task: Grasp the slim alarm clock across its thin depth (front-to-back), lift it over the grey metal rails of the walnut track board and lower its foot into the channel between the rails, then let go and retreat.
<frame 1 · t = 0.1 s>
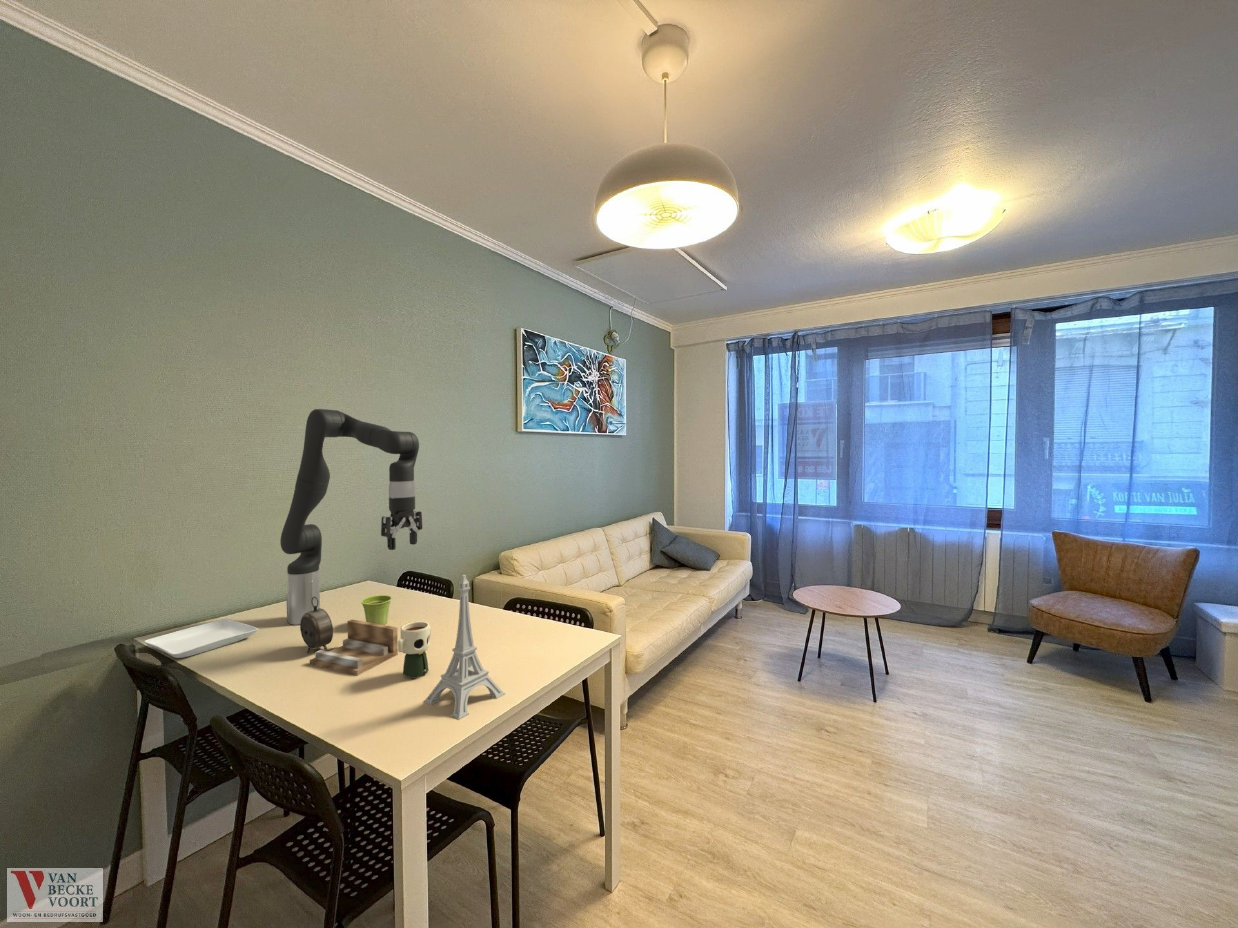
hand: (402, 546, 149), 29 cm above the table, fingers open, 8 cm apart
track board: (352, 660, 134), on the table
plant pot: (377, 625, 162), on the table
character mug: (415, 674, 126), on the table
alarm clock: (315, 651, 141), on the table
eiffel tower: (465, 699, 115), on the table
salad plate: (203, 645, 146), on the table
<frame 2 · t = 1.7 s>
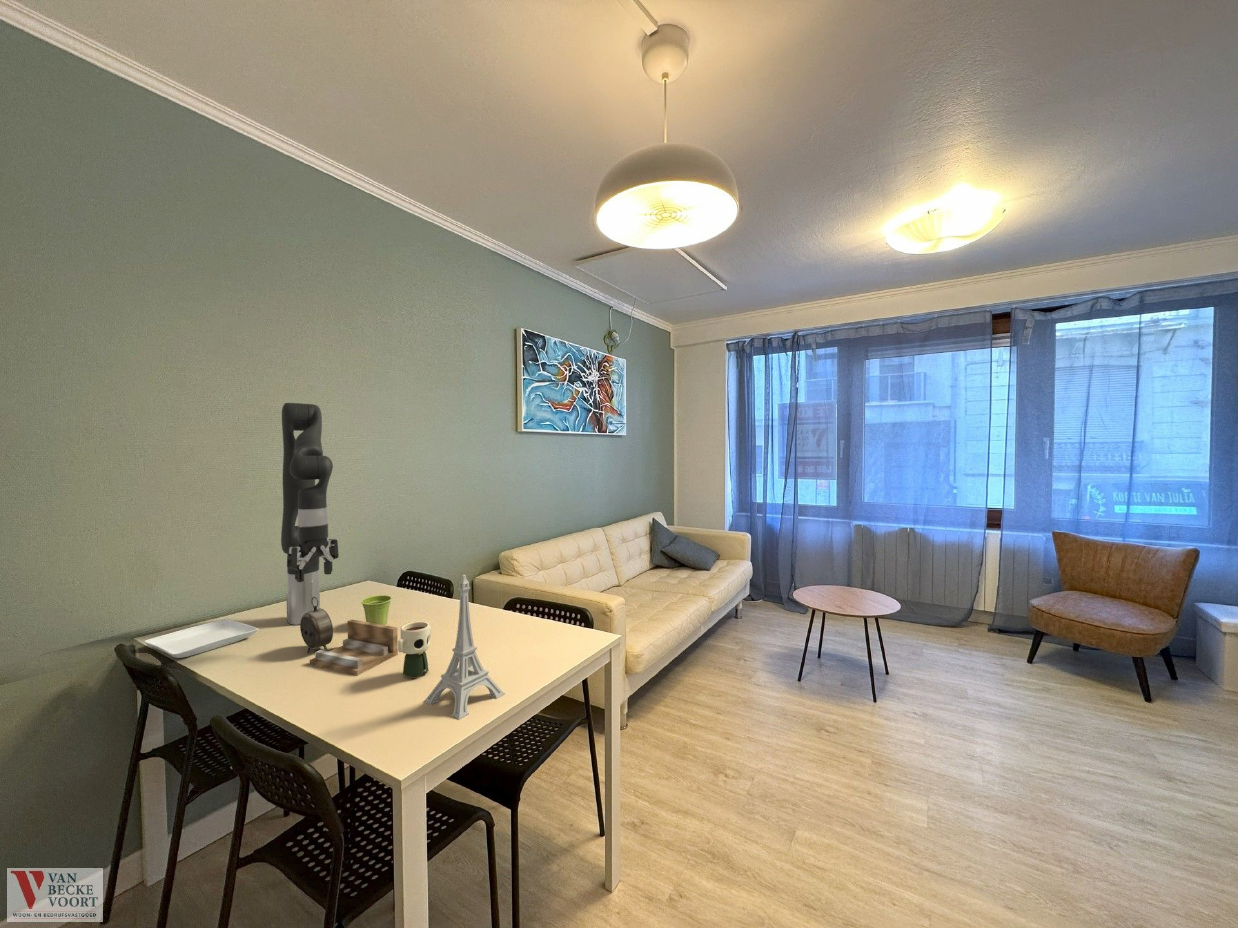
hand: (314, 577, 140), 22 cm above the table, fingers open, 8 cm apart
nothing on the table moved.
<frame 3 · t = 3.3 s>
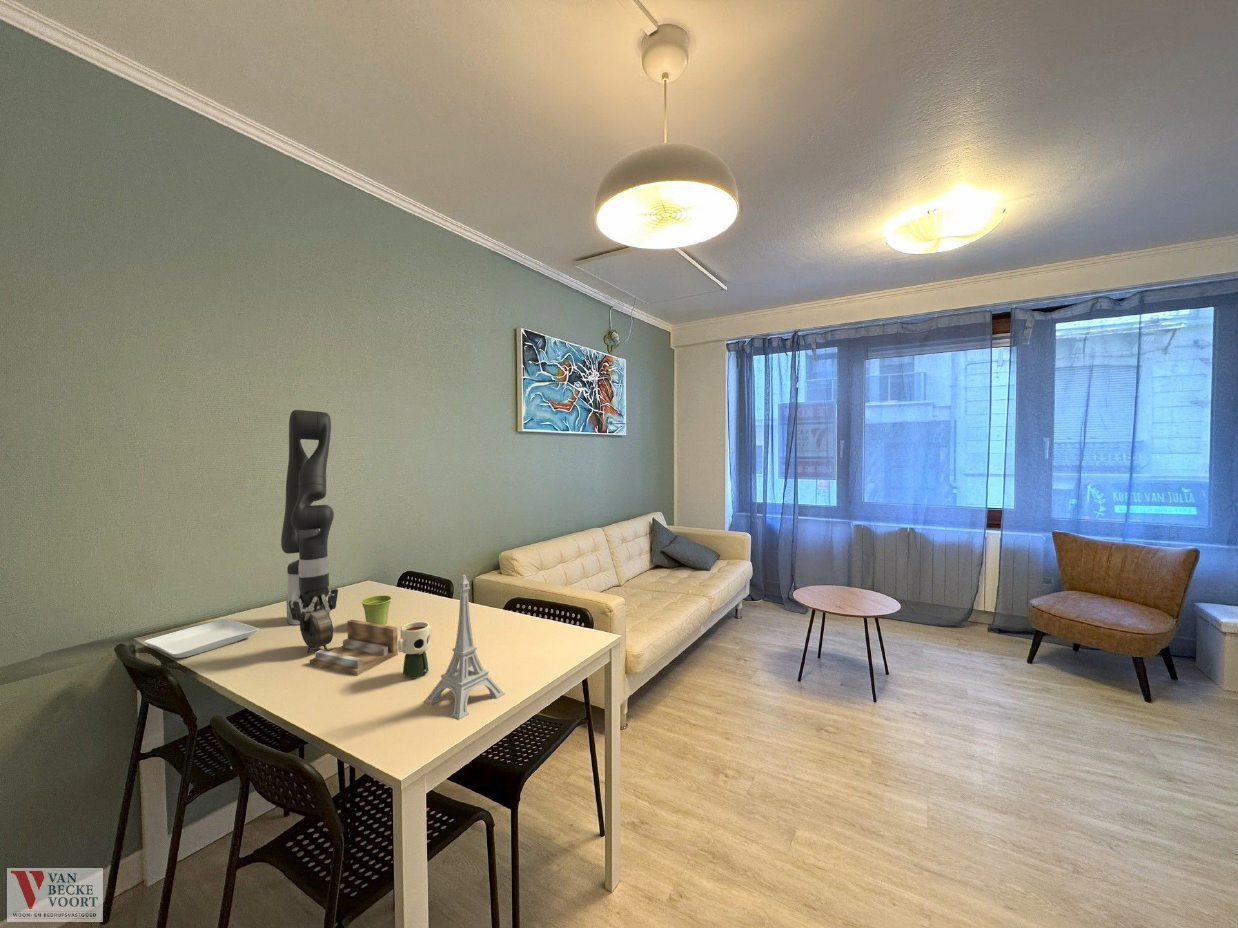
hand: (315, 628, 141), 7 cm above the table, fingers closed on alarm clock, 5 cm apart
alarm clock: (315, 650, 141), on the table, touching gripper
everything else where it was.
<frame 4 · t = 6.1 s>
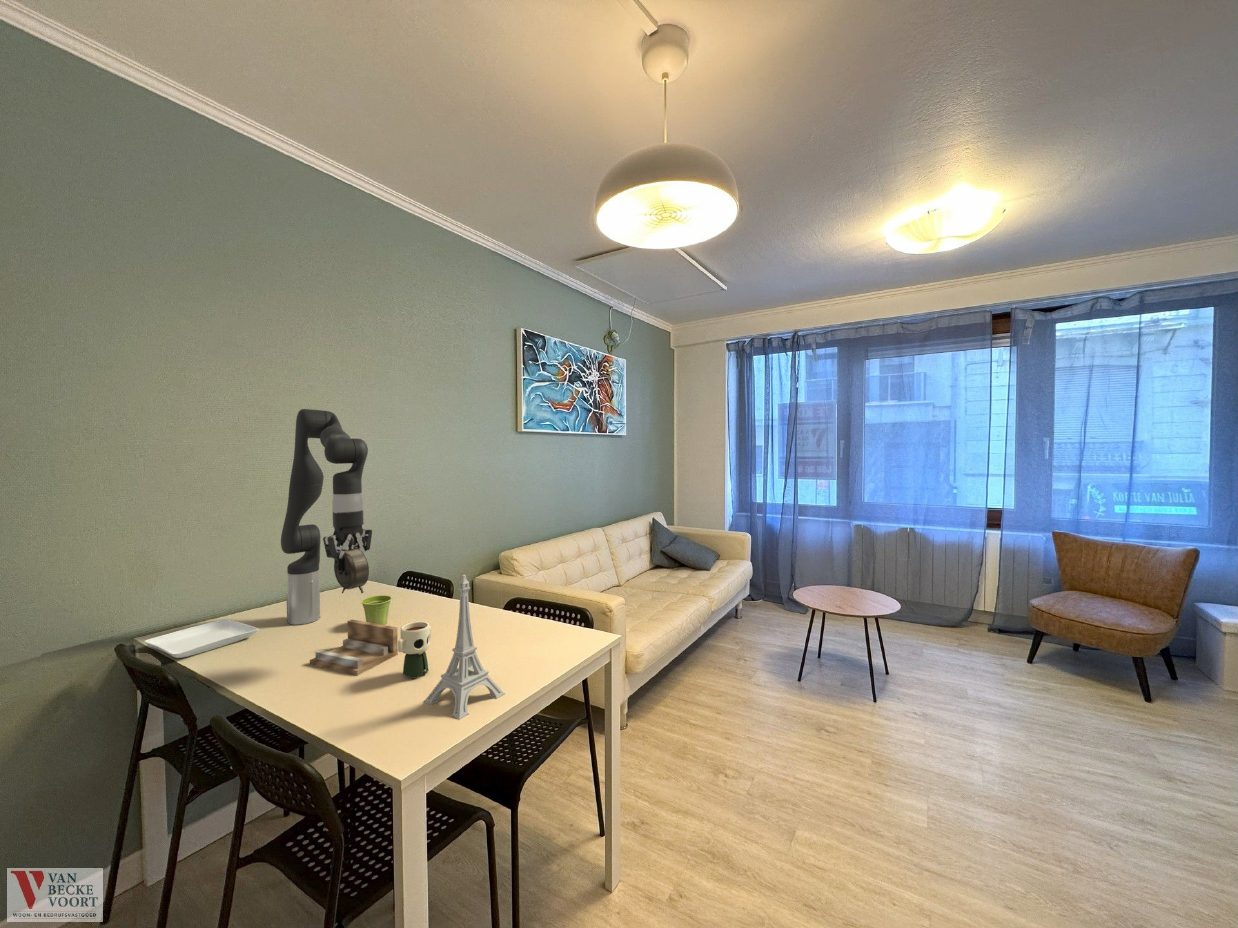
hand: (349, 569, 134), 26 cm above the table, fingers closed on alarm clock, 5 cm apart
alarm clock: (350, 592, 134), point 19 cm above the table, touching gripper
everything else where it was.
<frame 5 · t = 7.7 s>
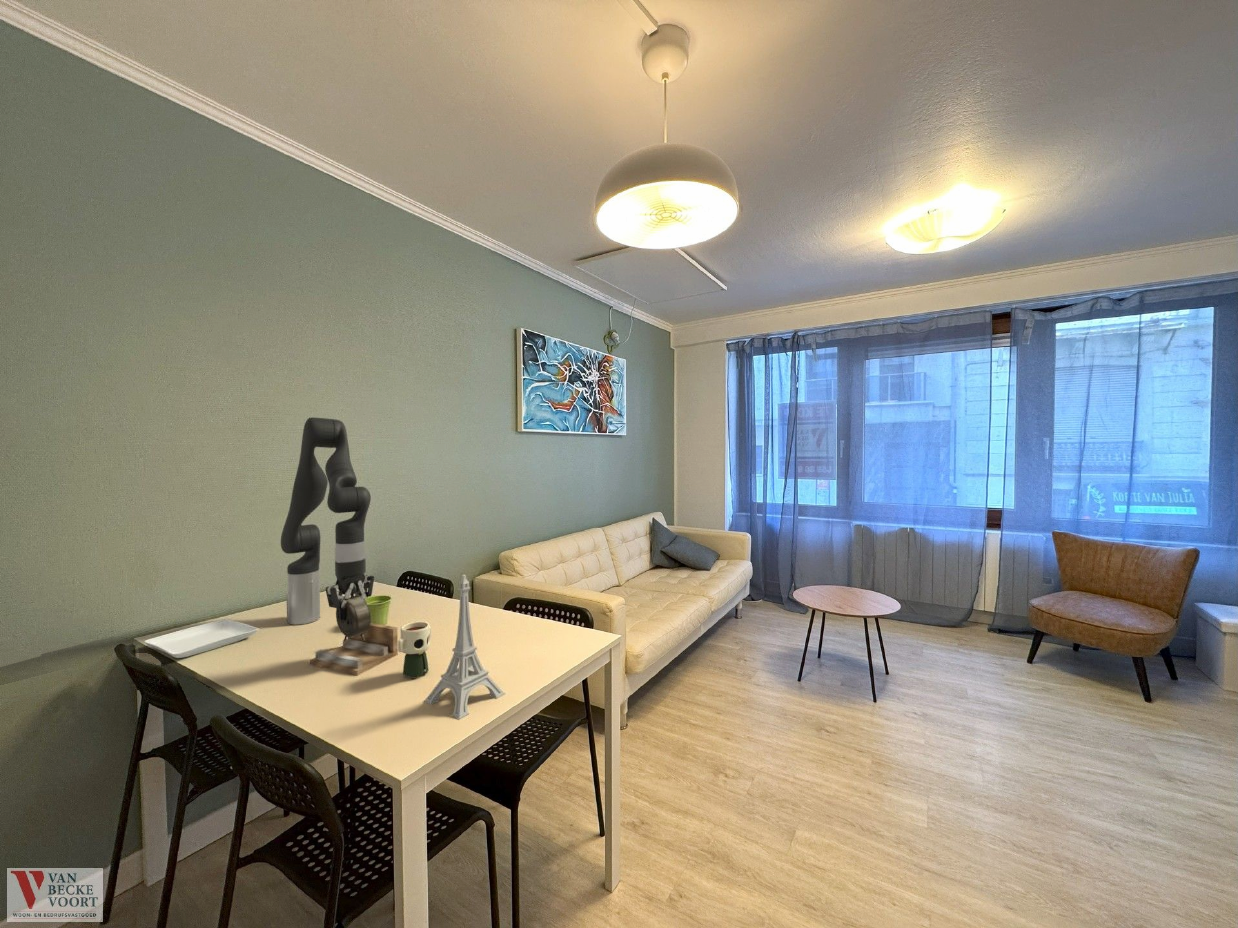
hand: (351, 616, 134), 12 cm above the table, fingers closed on alarm clock, 5 cm apart
alarm clock: (352, 640, 134), point 6 cm above the table, touching gripper
everything else where it was.
when the fingers open (8 cm above the table, at t = 9.0 s): alarm clock stays where it is, resting on track board.
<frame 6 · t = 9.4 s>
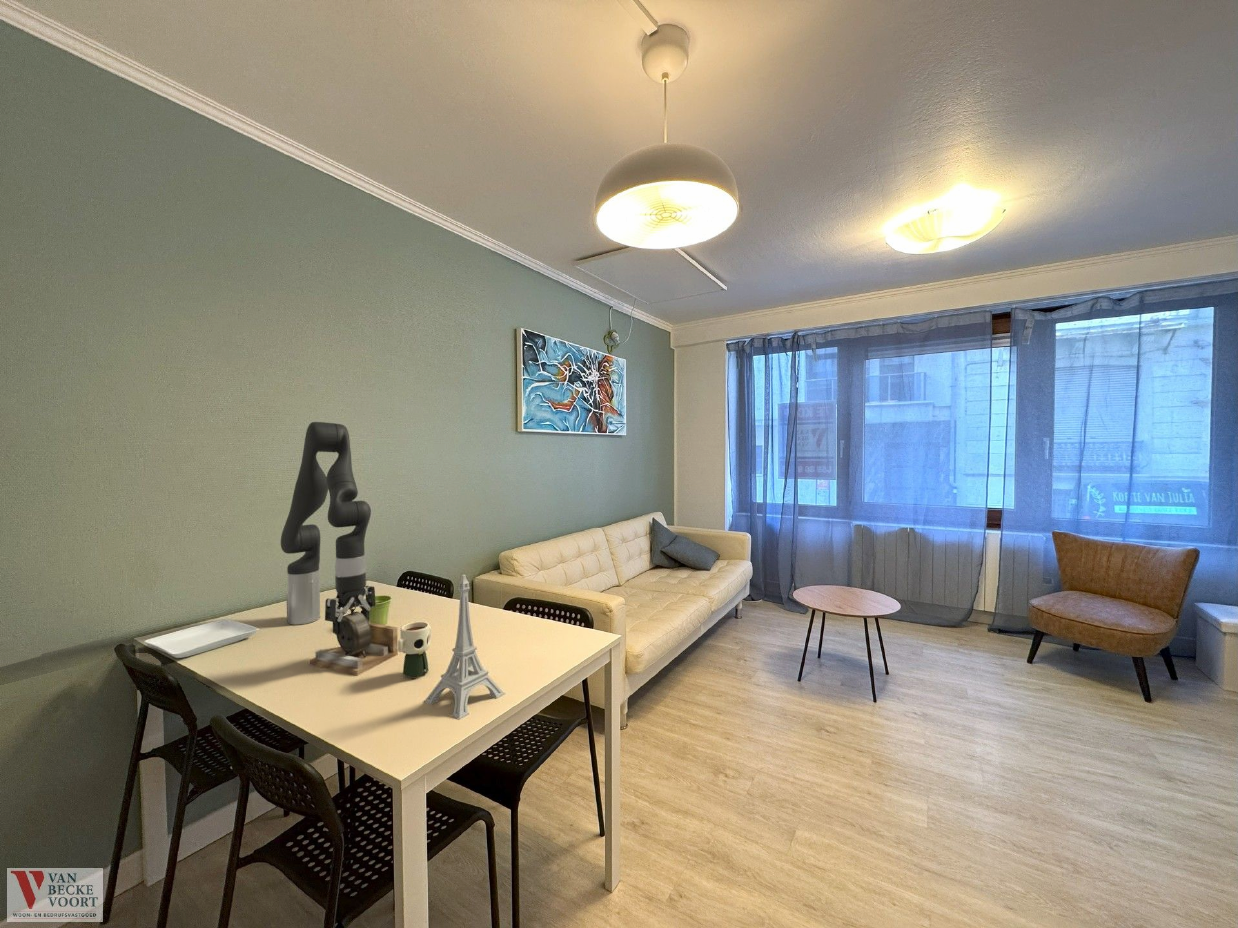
hand: (351, 628, 134), 9 cm above the table, fingers open, 8 cm apart
alarm clock: (352, 656, 135), point 1 cm above the table, touching track board
everything else where it was.
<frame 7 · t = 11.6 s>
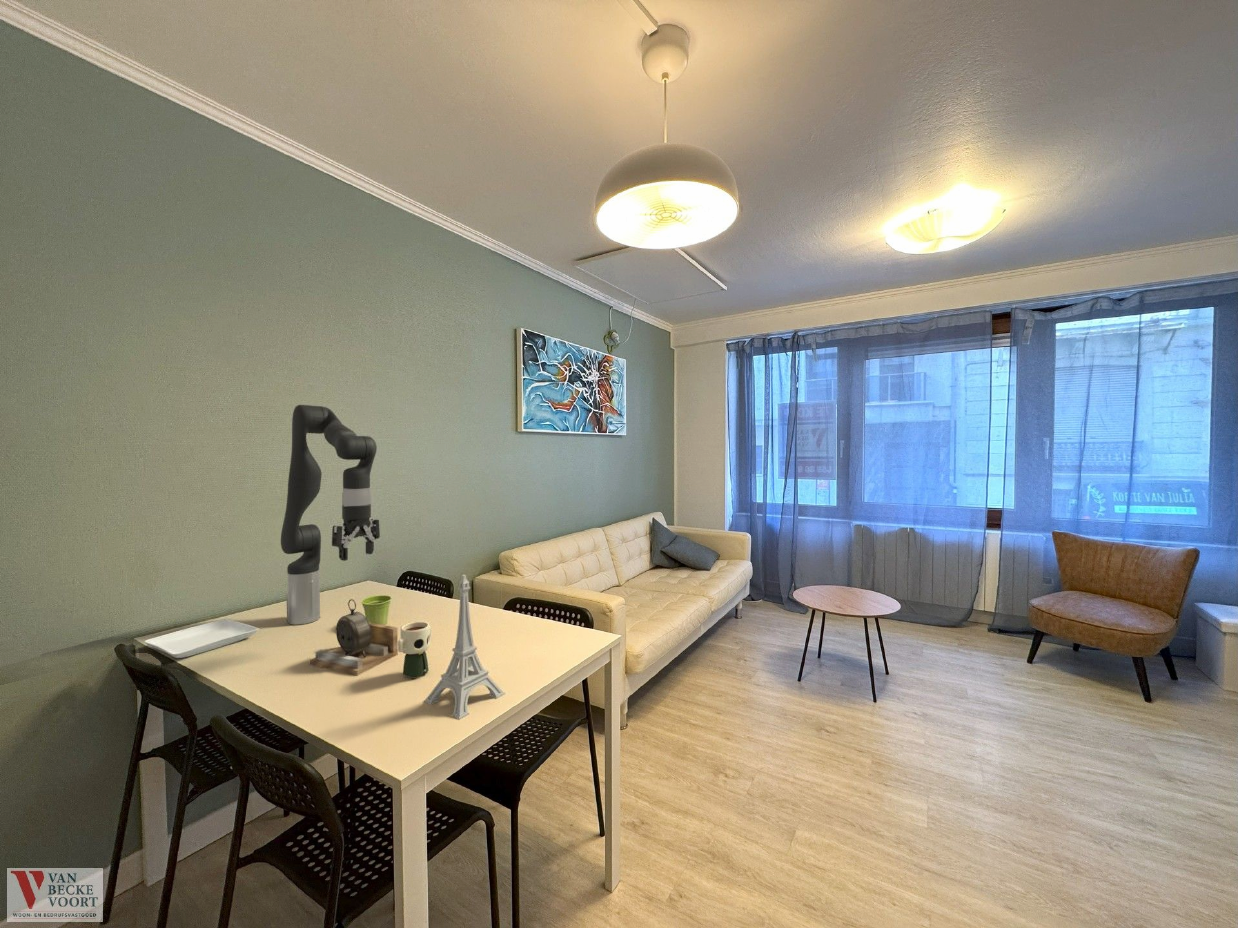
hand: (356, 556, 142), 28 cm above the table, fingers open, 8 cm apart
nothing on the table moved.
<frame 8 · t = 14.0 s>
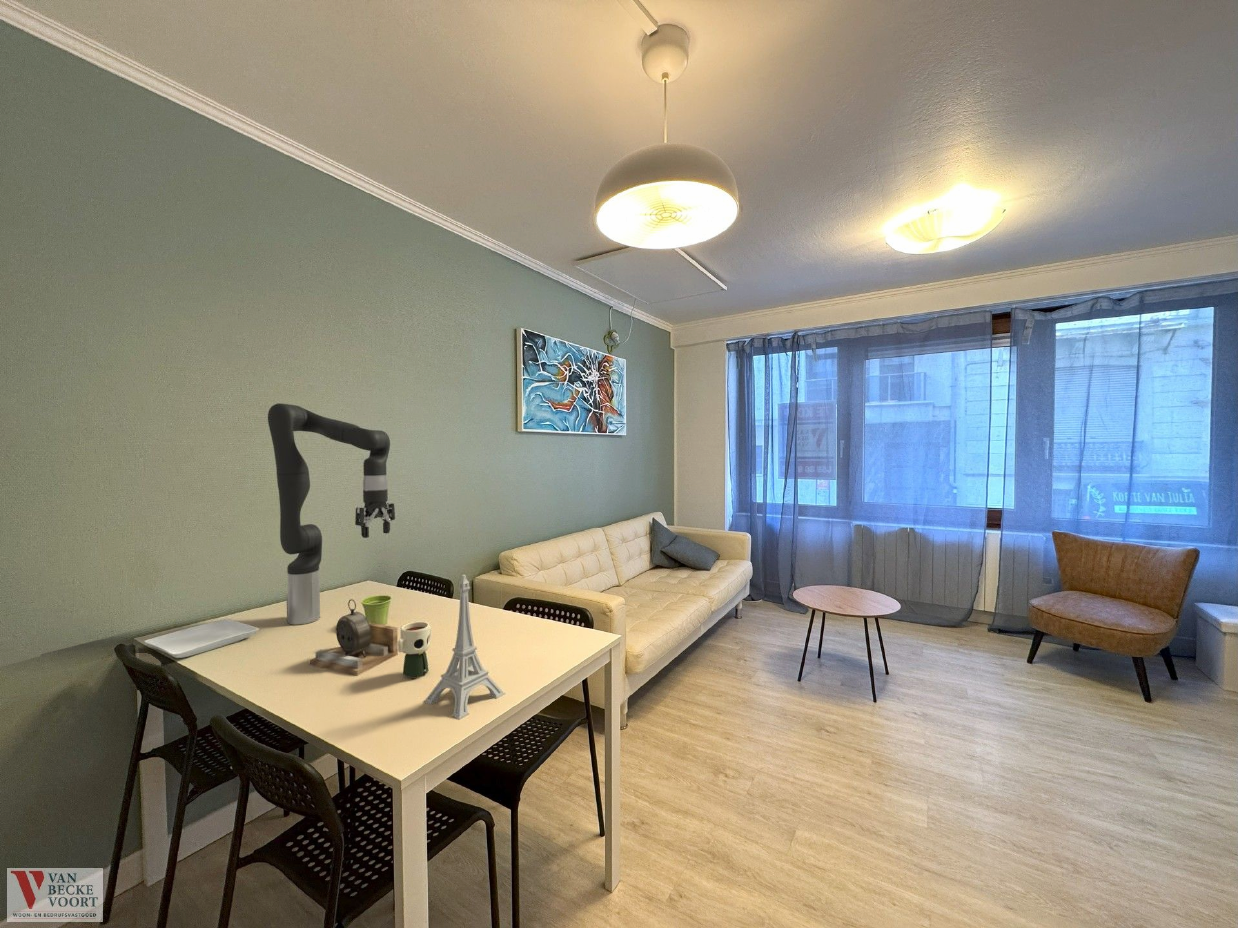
hand: (376, 535, 163), 30 cm above the table, fingers open, 8 cm apart
nothing on the table moved.
at the end: alarm clock 0.3 cm off-centre on the track board, point 1.0 cm above the track board's base; alarm clock tilted 0°; the gripper is holding nothing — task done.
